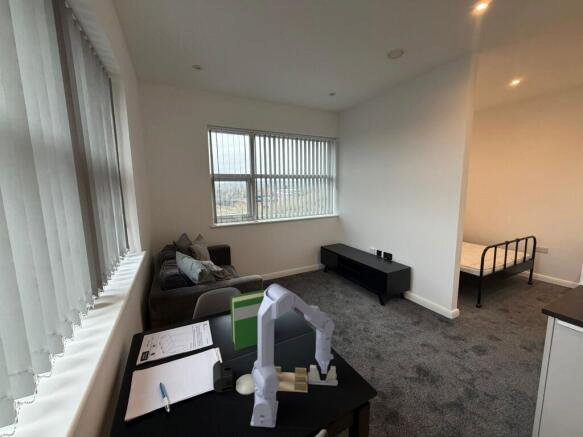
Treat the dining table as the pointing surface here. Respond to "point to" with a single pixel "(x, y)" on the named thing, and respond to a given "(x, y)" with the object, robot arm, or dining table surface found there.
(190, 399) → the dining table surface
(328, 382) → the plate stand
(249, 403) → the dining table surface
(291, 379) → the dish rack
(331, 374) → the white curved panel
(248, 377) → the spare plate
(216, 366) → the end cap
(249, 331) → the hardback book
